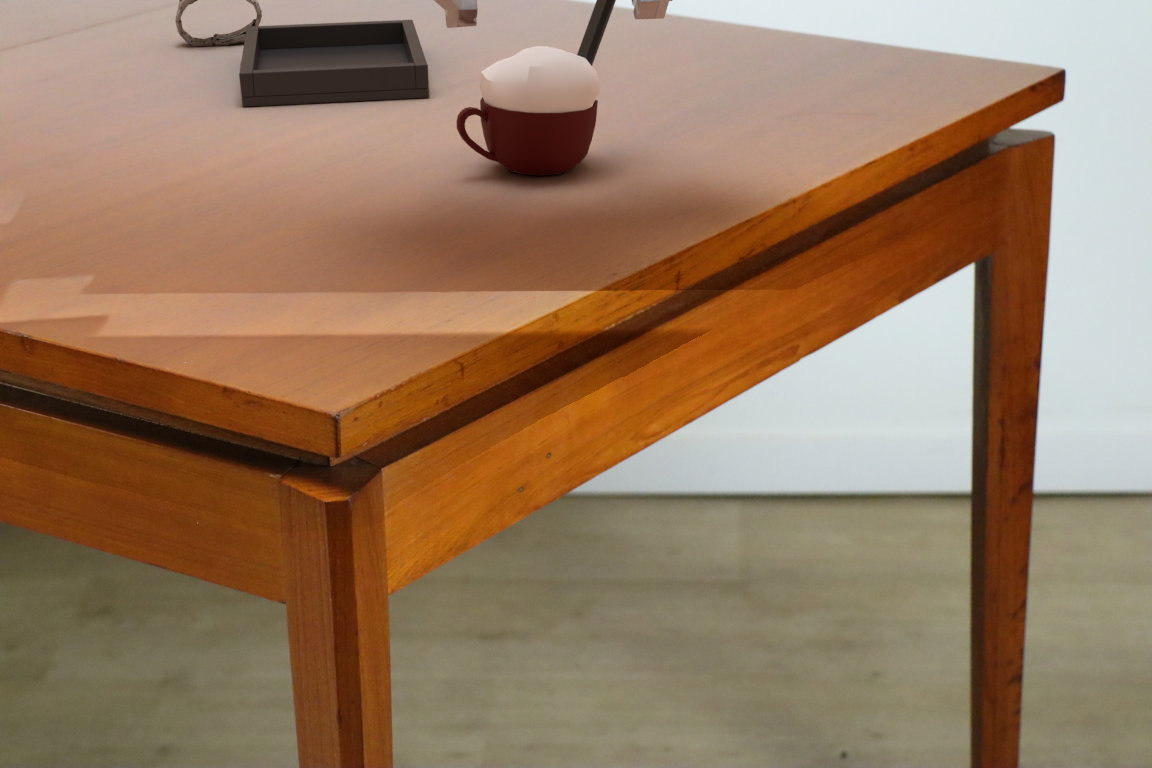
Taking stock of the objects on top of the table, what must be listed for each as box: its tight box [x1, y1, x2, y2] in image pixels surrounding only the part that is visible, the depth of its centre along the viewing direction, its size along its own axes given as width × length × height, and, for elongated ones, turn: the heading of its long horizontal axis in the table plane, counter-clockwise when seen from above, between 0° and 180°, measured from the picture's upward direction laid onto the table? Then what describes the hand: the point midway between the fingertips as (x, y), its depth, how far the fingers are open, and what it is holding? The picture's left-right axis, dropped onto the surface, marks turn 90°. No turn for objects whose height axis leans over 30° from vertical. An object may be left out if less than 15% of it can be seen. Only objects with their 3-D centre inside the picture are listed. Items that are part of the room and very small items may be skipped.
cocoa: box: [455, 0, 617, 176], centre depth 79 cm, size 10×6×12 cm, turn 90°
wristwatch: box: [174, 0, 263, 48], centre depth 110 cm, size 4×6×5 cm, turn 99°
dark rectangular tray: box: [238, 19, 430, 108], centre depth 101 cm, size 12×15×2 cm
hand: (554, 11), depth 76 cm, fingers open, 8 cm apart
